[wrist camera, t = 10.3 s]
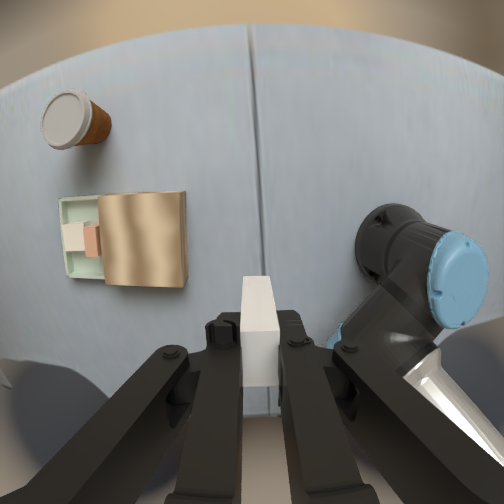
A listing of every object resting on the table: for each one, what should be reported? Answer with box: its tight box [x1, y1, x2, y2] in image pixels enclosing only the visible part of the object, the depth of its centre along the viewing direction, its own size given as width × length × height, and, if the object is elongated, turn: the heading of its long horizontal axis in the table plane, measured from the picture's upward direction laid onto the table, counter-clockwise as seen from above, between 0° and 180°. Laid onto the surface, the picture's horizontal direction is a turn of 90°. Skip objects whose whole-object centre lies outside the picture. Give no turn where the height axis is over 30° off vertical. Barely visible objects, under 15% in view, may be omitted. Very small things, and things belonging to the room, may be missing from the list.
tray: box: [59, 194, 107, 279], centre depth 48 cm, size 10×15×2 cm, turn 179°
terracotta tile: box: [83, 222, 102, 257], centre depth 47 cm, size 5×5×2 cm
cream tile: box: [62, 220, 90, 252], centre depth 48 cm, size 5×5×2 cm
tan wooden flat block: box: [98, 191, 188, 287], centre depth 47 cm, size 14×15×5 cm
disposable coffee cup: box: [40, 89, 111, 150], centre depth 39 cm, size 10×10×12 cm
